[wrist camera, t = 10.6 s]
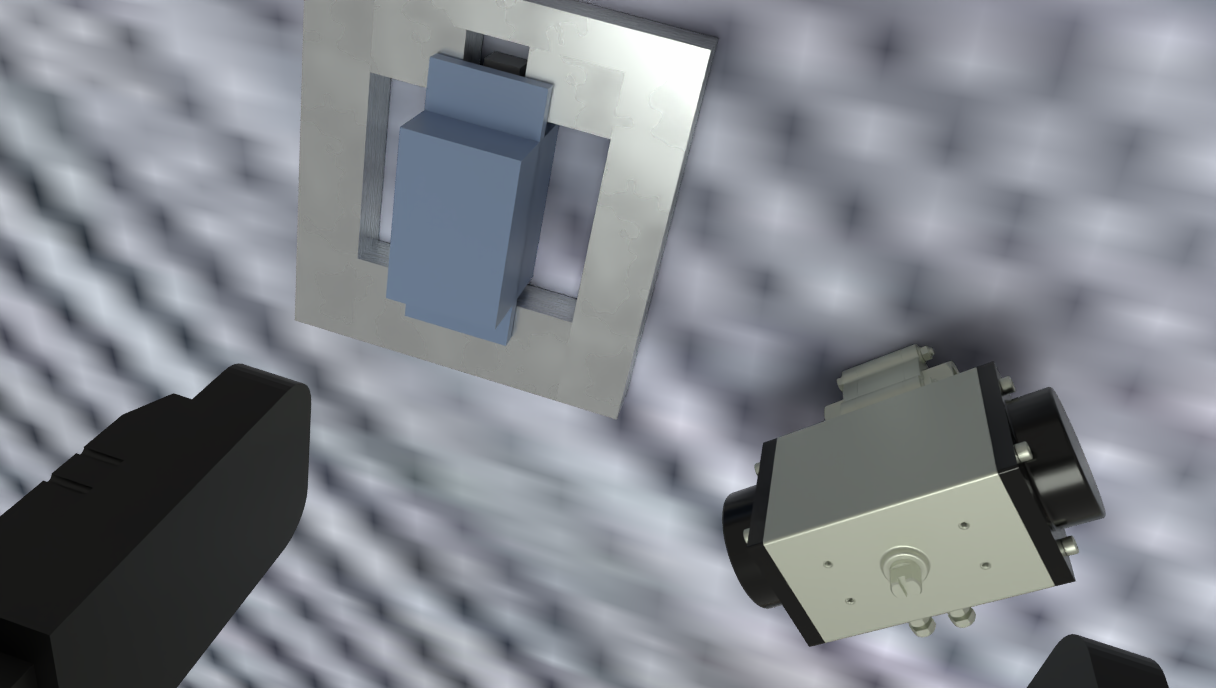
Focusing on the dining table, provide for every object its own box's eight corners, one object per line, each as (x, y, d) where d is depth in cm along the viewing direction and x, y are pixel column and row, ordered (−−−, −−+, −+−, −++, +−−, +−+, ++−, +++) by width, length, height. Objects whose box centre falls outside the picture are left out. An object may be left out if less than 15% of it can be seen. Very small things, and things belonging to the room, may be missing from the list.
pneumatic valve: (743, 390, 41) (703, 583, 31) (1017, 285, 36) (1077, 473, 26) (800, 487, 43) (780, 699, 33) (1070, 398, 38) (1145, 617, 28)
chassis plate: (332, -64, 36) (305, -58, 34) (718, 38, 34) (710, 50, 32) (316, 300, 44) (295, 320, 42) (626, 394, 42) (616, 419, 41)
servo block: (457, 40, 36) (404, 71, 32) (569, 70, 36) (530, 105, 32) (430, 287, 42) (382, 340, 38) (526, 315, 42) (488, 372, 38)
